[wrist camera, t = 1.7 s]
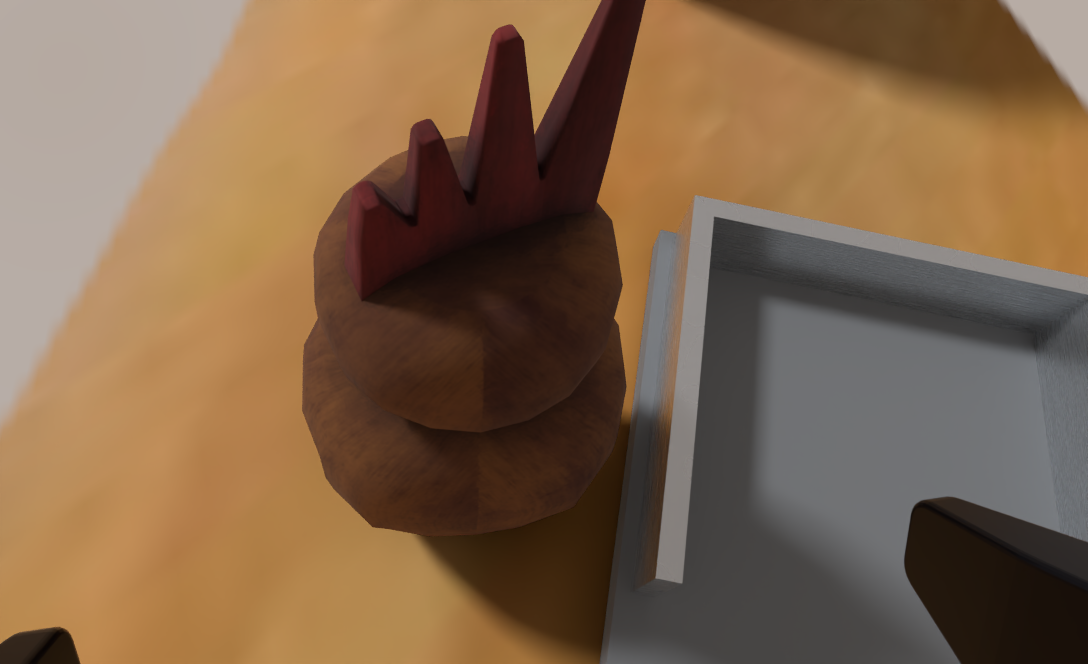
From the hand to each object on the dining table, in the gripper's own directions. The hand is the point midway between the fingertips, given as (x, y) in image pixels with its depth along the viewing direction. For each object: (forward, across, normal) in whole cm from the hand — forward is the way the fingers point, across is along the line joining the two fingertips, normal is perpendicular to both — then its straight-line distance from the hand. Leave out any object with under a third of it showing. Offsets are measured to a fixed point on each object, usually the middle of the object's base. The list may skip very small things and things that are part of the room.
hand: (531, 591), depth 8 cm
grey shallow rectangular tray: (+9, -10, +8) cm, 16 cm away
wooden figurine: (+12, 0, +5) cm, 13 cm away
